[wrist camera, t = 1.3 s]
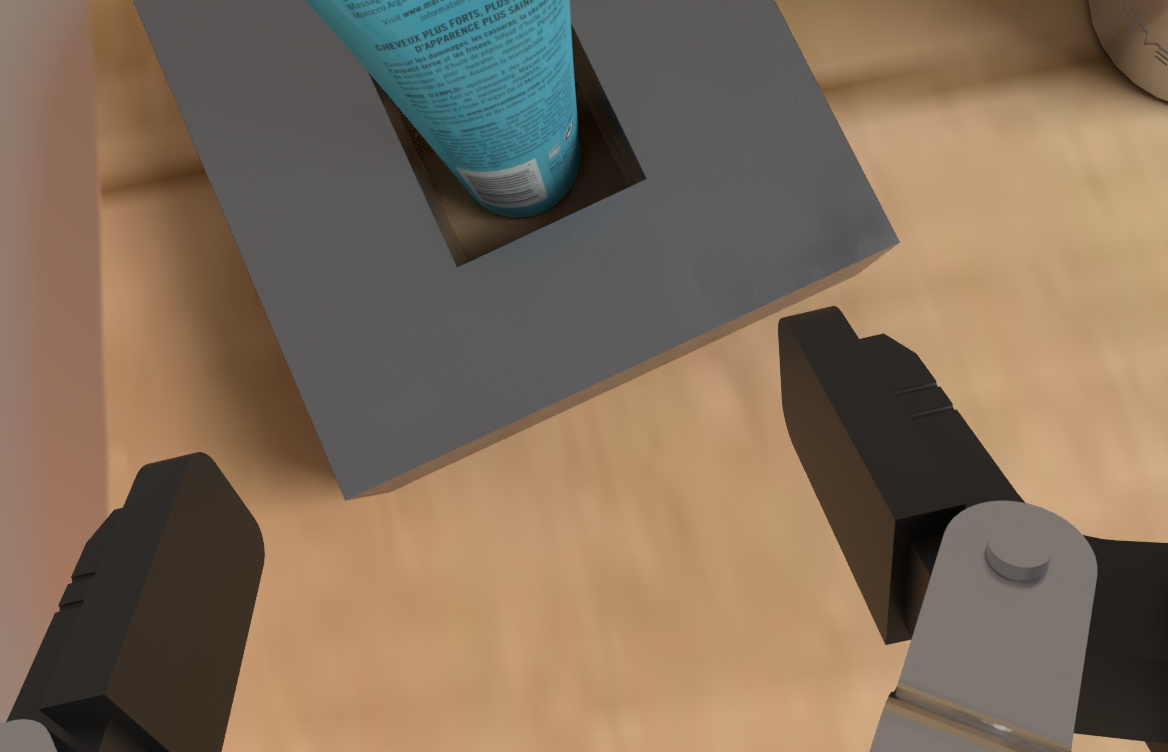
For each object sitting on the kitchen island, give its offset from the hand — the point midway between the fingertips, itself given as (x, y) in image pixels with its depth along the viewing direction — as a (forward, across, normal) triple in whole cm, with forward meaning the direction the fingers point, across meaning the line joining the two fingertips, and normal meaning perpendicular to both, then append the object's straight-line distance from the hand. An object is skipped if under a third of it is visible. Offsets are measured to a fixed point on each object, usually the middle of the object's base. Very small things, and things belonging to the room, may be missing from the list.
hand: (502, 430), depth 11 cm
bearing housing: (+22, 0, +6) cm, 23 cm away
